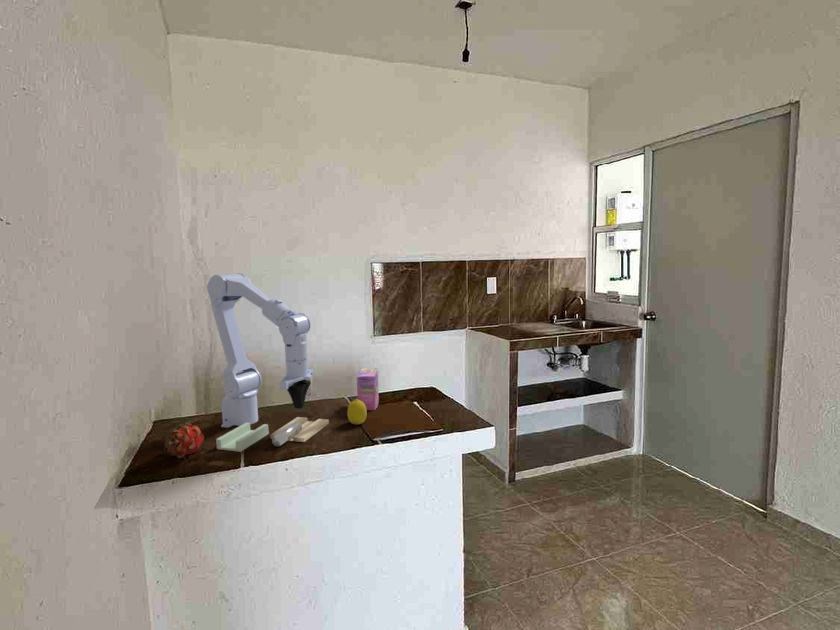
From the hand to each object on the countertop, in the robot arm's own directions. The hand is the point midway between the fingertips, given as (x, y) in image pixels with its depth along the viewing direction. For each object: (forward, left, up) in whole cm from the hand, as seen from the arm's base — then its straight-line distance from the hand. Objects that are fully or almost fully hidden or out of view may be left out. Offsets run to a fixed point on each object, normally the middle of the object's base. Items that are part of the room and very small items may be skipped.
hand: (299, 407), depth 129 cm
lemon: (+13, +9, -8) cm, 18 cm away
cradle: (-11, -10, -8) cm, 17 cm away
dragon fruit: (-22, -19, -8) cm, 30 cm away
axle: (0, -6, -7) cm, 9 cm away
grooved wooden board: (0, 0, -8) cm, 8 cm away
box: (+10, +25, -8) cm, 28 cm away
